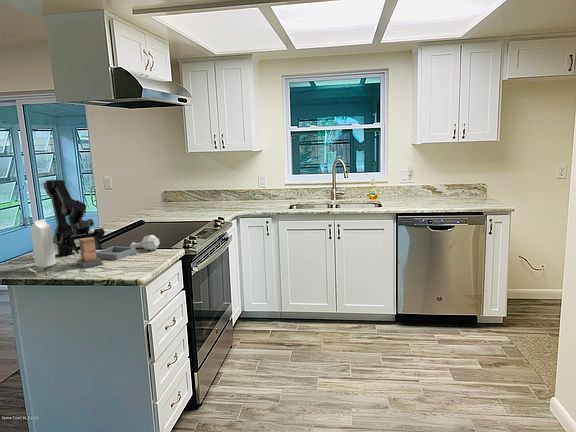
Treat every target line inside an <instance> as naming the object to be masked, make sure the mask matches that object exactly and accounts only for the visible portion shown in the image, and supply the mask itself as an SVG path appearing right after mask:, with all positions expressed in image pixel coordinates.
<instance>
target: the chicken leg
mask: <svg viewBox="0 0 576 432" xmlns="http://www.w3.org/2000/svg"><path fill="white" fill-rule="evenodd" d="M159 245H160V239H159V238H158V237H156V235H154V234H150V235H146V236H144V237H143V238H142V240H140V242H135V241H134V242H133V241H132V242H131V243H130V246H129V247H134V248H136V249H137V248H139V247H140V248H143V249H144V250H146V251H147V250H150V251H153V250H156V249H158V247H159Z"/></svg>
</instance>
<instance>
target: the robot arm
mask: <svg viewBox="0 0 576 432" xmlns="http://www.w3.org/2000/svg"><path fill="white" fill-rule="evenodd" d="M43 189H44V190H45V194H47V196H48V197H50V200H51V203H52V208H53V213H54V219H55V222H56V227H55V229H54V235H53V245H54V246H56V247H57V254H55V257H57V256H58V257H68V256H72V255H73V254H80V251H79V248H78V246H77V245H76V242H75V240H79V239H85V238H93V239H95V247H96V249H98V251H100V249H101V245H100V242H101V240H102V239H104V237H105V234H106V230H105V229H104V228H103V227H101V228H100V227H99V228H95V229H94V230H93V232H90V228H91V227H93V226H94V224H95V223H94V220H93V218H89V219H86V220H84V219H83V218H84V217H85V213H86V210H87V205H86V203H84V202H81V201H80V200H79V199H78V200H75V199H74V198H72V197H71V194H70V192H69V190H68V188H67V187H66V183H65V181H64V180H63V179H48V180H45V182H43ZM67 216H68V217H67ZM67 219H68V220H67ZM67 221H68V222H67Z"/></svg>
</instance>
